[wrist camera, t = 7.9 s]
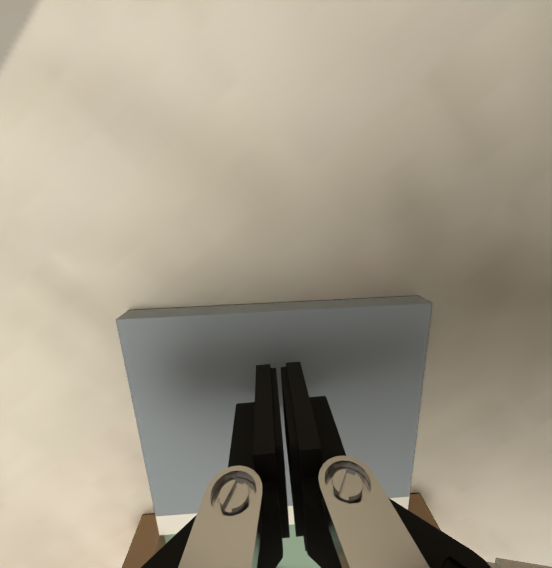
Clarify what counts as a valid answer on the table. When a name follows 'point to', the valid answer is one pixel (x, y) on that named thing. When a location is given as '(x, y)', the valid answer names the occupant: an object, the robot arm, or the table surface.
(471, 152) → the table surface
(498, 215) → the table surface
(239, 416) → the robot arm
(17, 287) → the table surface
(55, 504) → the table surface
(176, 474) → the lane
